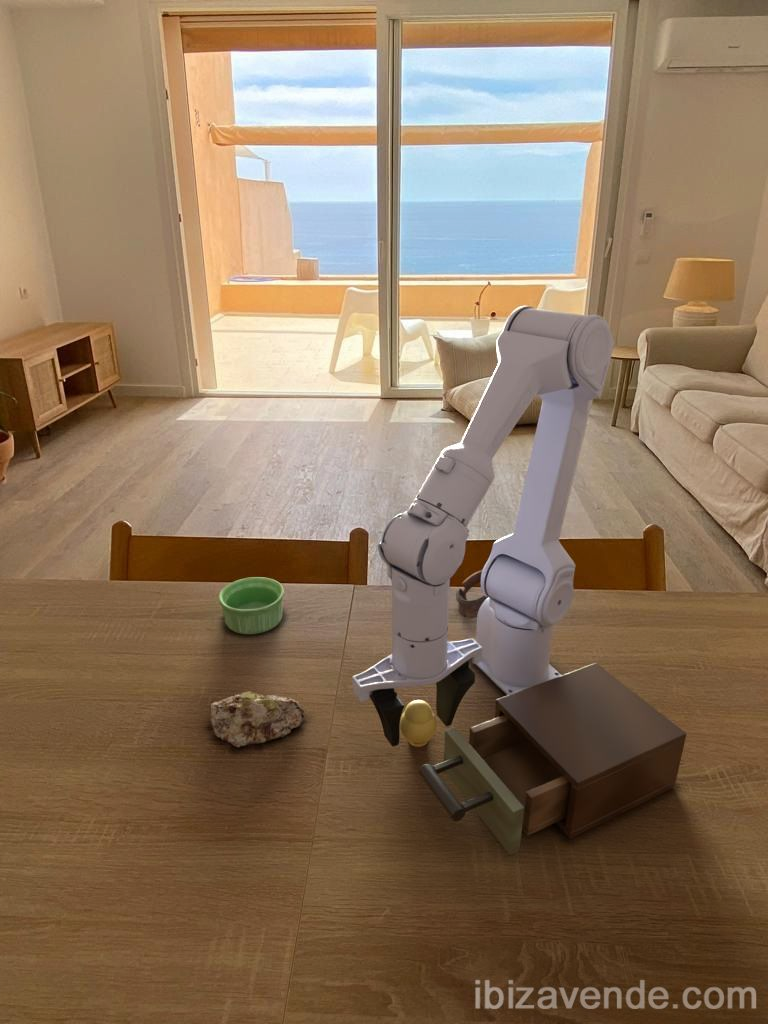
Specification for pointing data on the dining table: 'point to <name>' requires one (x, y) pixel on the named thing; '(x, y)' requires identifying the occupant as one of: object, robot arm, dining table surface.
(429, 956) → the dining table surface
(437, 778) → the drawer
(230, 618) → the ramekin
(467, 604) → the pottery mug
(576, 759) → the cabinet
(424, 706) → the yellow double-bulb knob
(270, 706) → the mineral rock
